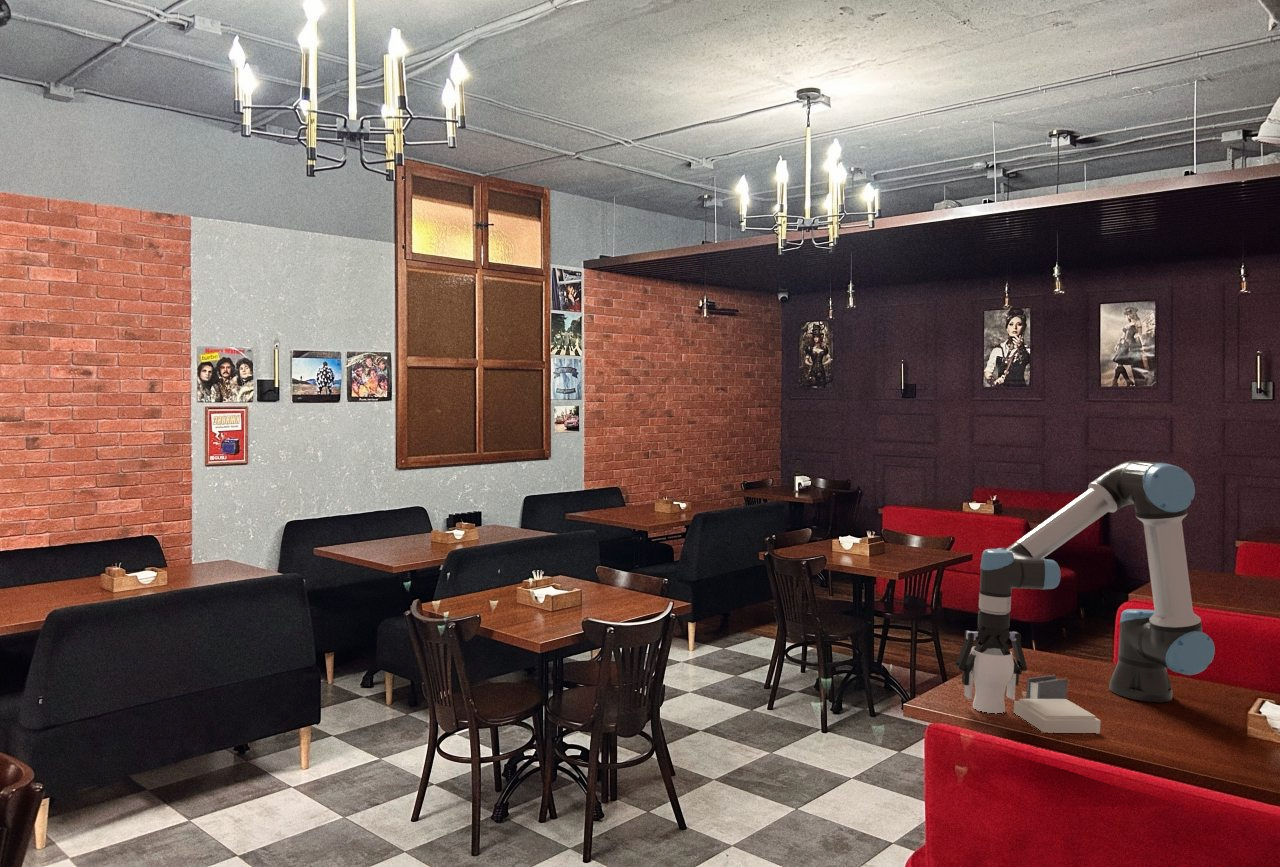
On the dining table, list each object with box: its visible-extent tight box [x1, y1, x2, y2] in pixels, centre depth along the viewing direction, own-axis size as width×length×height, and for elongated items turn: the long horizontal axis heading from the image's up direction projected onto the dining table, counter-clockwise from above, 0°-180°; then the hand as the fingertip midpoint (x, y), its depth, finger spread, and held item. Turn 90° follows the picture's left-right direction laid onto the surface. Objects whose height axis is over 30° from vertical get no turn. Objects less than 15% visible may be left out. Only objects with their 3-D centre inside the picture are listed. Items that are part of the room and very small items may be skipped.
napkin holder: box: [1025, 674, 1068, 699], centre depth 239 cm, size 10×4×7 cm, turn 116°
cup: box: [969, 646, 1014, 715], centre depth 234 cm, size 11×11×15 cm
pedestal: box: [1013, 698, 1102, 735], centre depth 225 cm, size 14×14×4 cm
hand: (989, 697), depth 234 cm, fingers closed on cup, 11 cm apart
